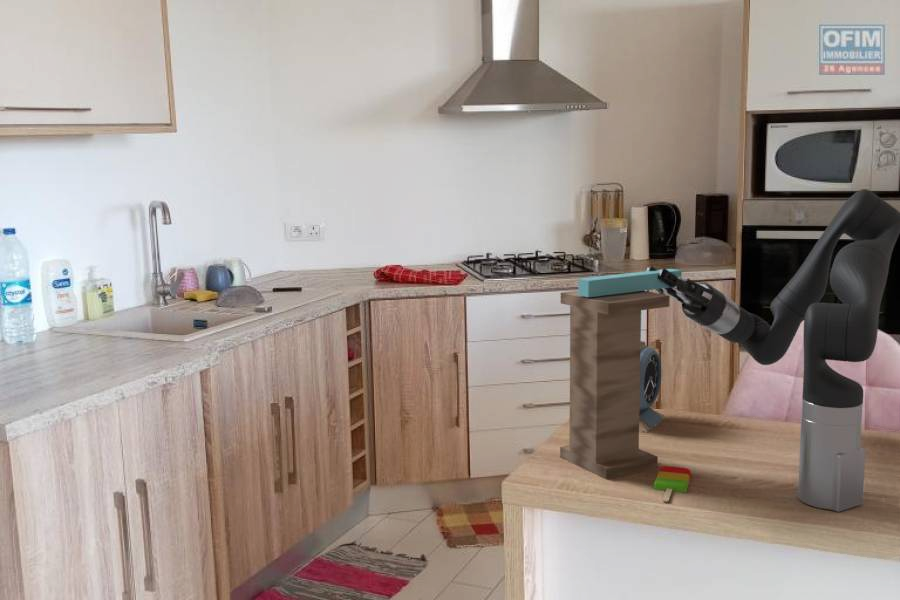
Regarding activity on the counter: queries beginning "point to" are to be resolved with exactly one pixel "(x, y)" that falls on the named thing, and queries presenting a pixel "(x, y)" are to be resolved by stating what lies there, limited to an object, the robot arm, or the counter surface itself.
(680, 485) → the popsicle
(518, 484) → the counter surface
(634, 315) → the shelf stand
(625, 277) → the teal bar
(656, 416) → the alarm clock
